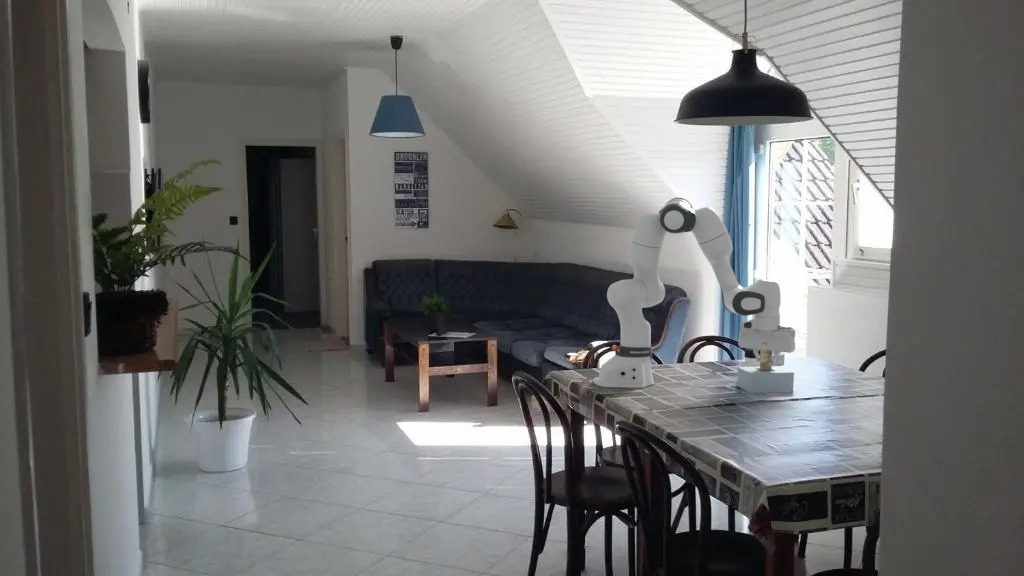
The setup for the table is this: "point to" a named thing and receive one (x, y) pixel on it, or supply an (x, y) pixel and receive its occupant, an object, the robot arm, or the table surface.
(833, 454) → the table surface
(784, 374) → the socket block
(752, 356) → the medicine bottle
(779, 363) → the paper bowls
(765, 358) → the peg
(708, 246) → the robot arm
